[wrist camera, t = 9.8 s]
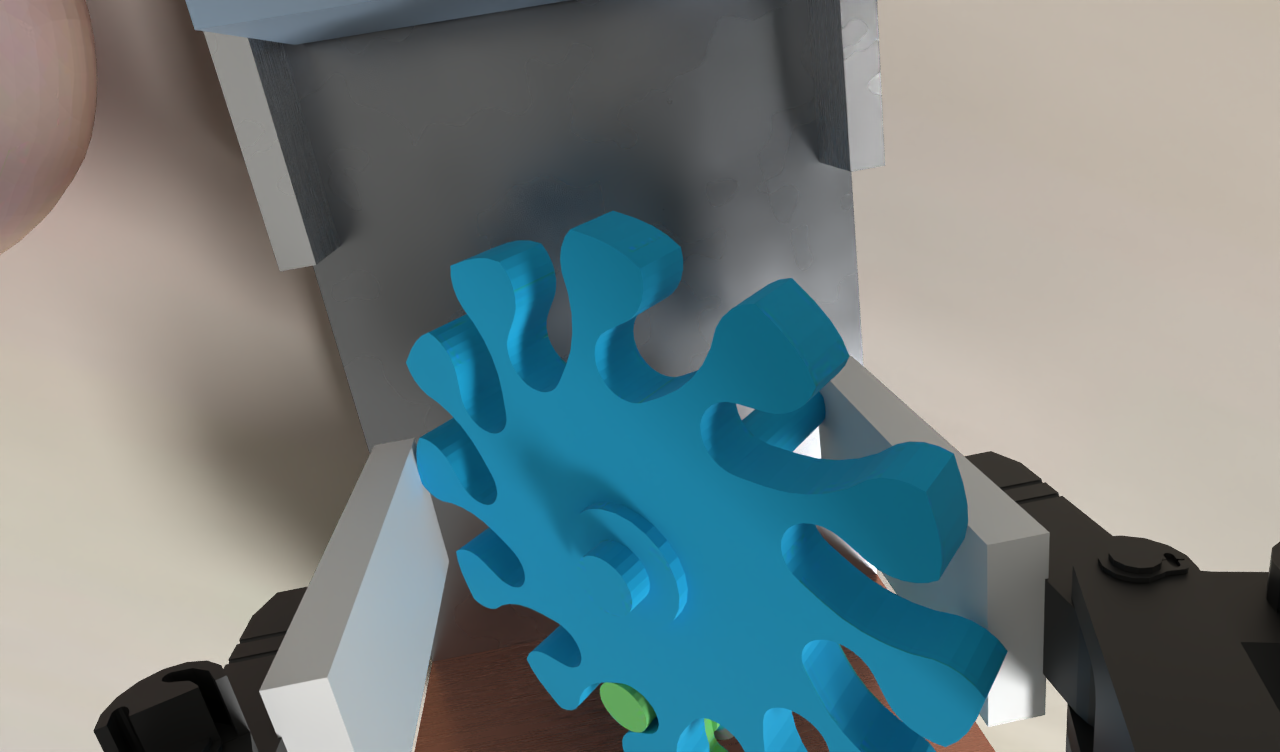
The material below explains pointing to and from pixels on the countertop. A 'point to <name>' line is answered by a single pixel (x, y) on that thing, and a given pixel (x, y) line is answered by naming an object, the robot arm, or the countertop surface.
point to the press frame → (559, 229)
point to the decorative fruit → (42, 107)
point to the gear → (692, 511)
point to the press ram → (332, 16)
